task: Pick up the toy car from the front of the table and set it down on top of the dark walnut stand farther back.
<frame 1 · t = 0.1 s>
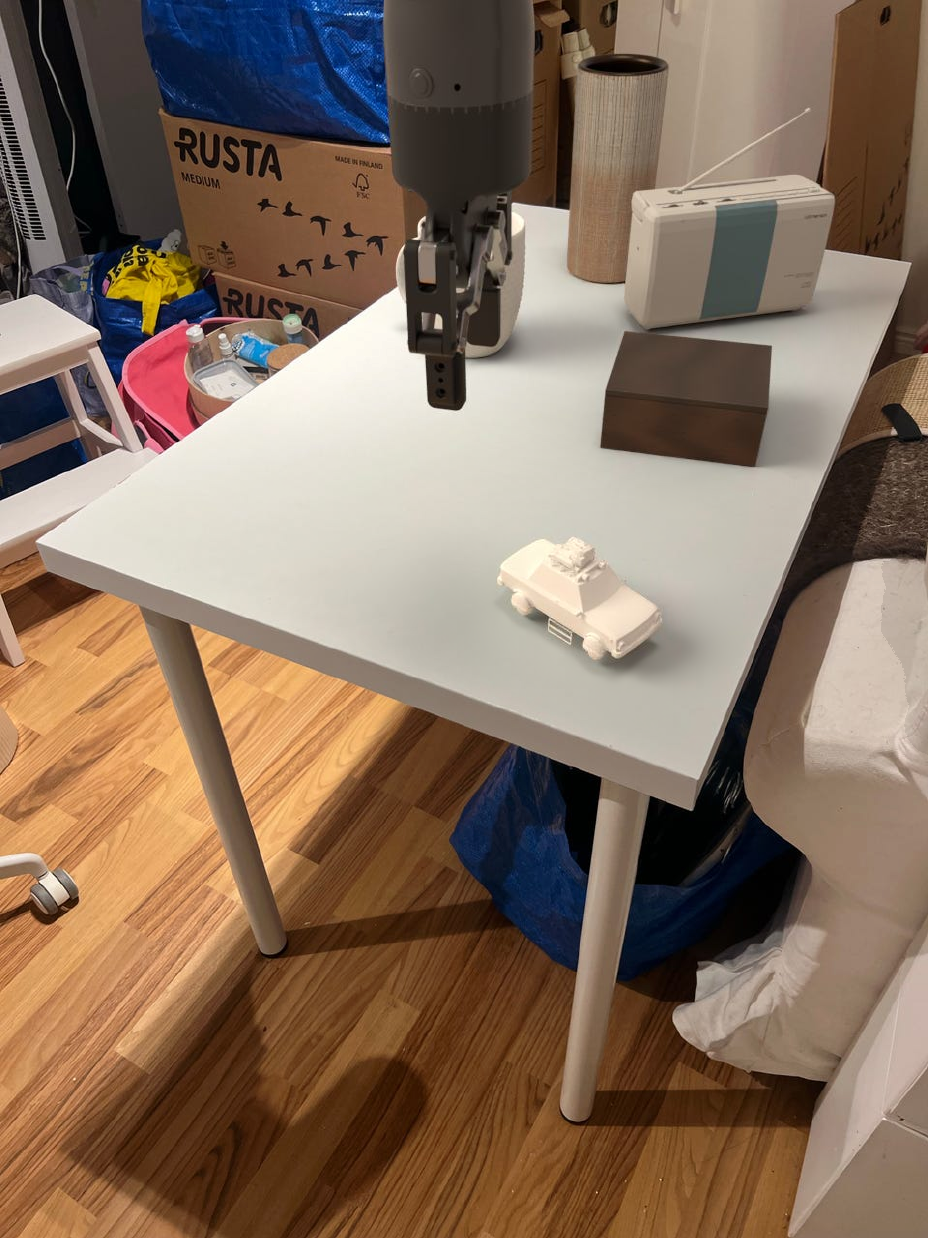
hand: (466, 373, 57), 19 cm above the table, tool pointing down, fingers open, 8 cm apart
stand: (682, 424, 88), on the table
toy car: (575, 622, 68), on the table
planter: (605, 269, 116), on the table
mug: (465, 344, 102), on the table
radio: (712, 313, 106), on the table
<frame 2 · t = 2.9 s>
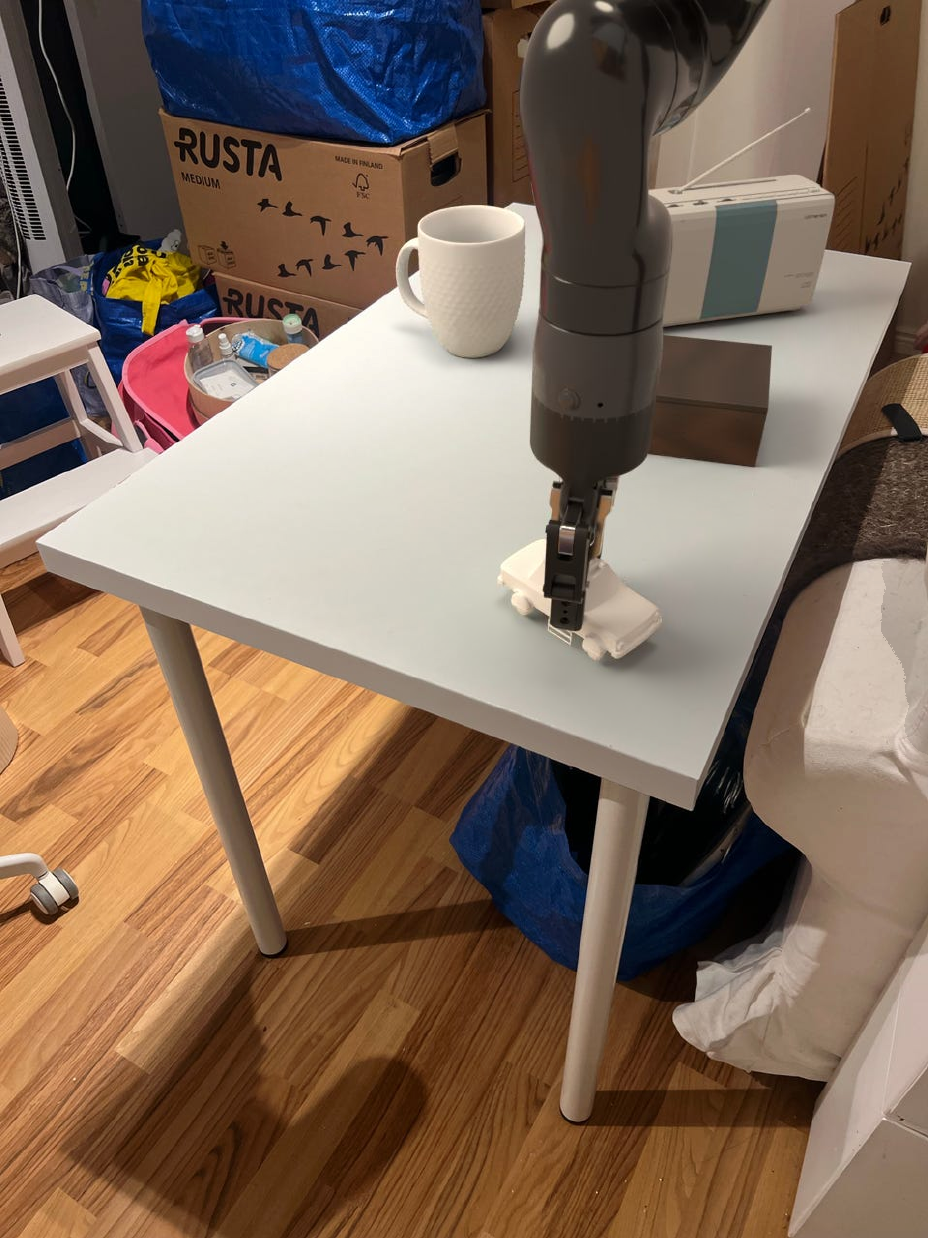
hand: (576, 590, 66), 3 cm above the table, tool pointing down, fingers closed on toy car, 7 cm apart
toy car: (575, 622, 68), on the table, touching gripper
everything else where it was.
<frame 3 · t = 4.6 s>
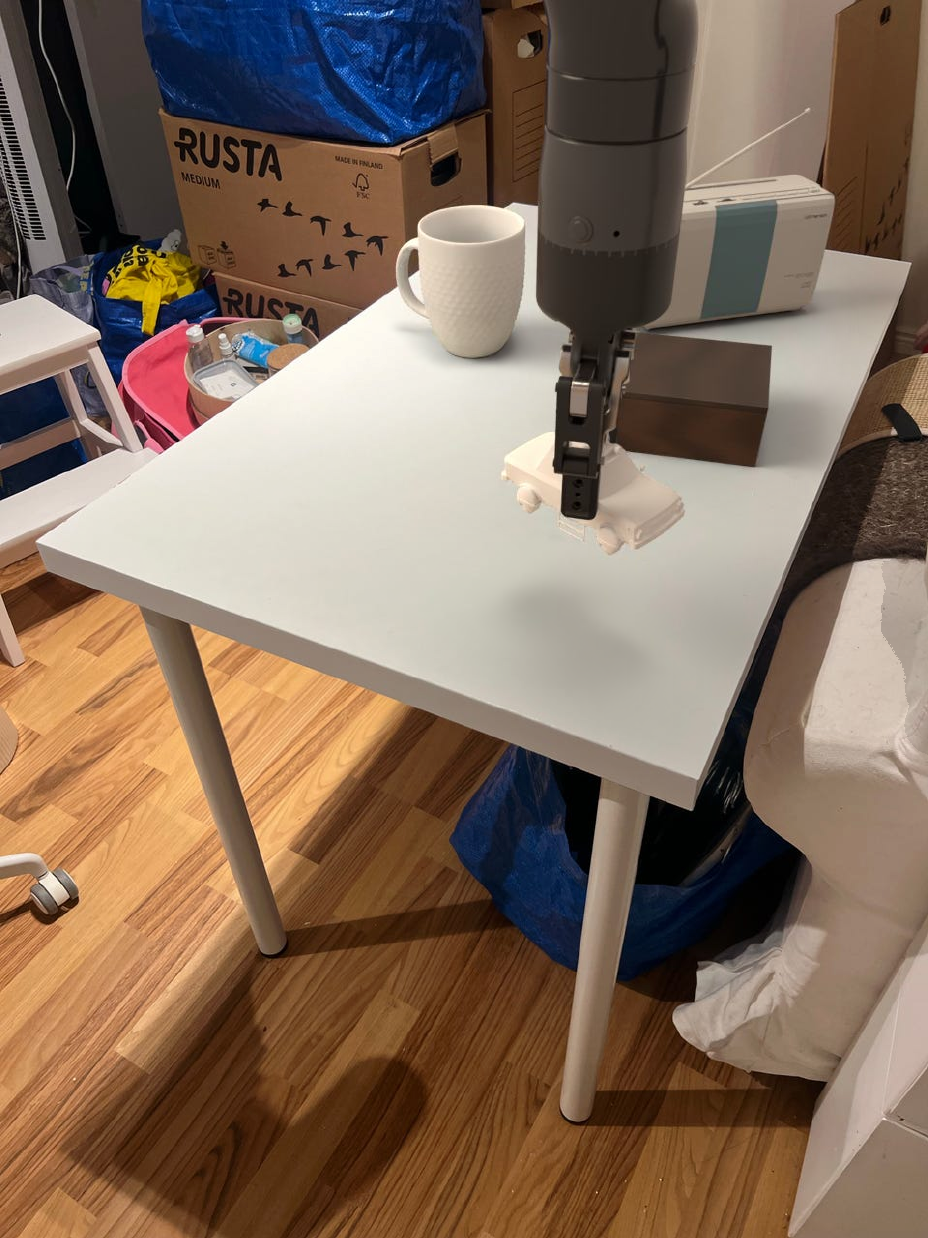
hand: (589, 480, 59), 12 cm above the table, tool pointing down, fingers closed on toy car, 7 cm apart
toy car: (587, 520, 61), point 9 cm above the table, touching gripper
everything else where it was.
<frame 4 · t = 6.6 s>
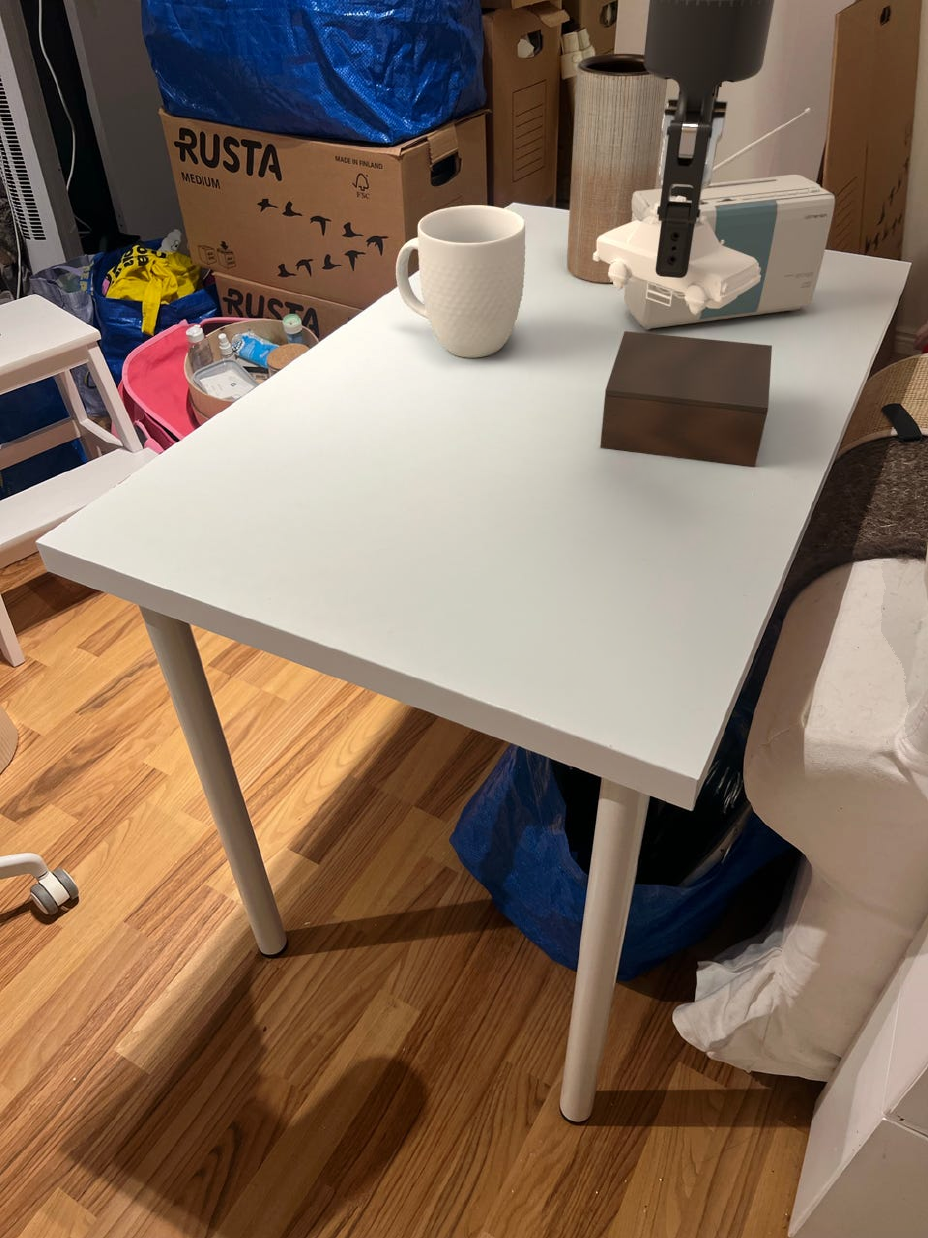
hand: (675, 253, 67), 20 cm above the table, tool pointing down, fingers closed on toy car, 7 cm apart
toy car: (670, 296, 69), point 17 cm above the table, touching gripper
everything else where it was.
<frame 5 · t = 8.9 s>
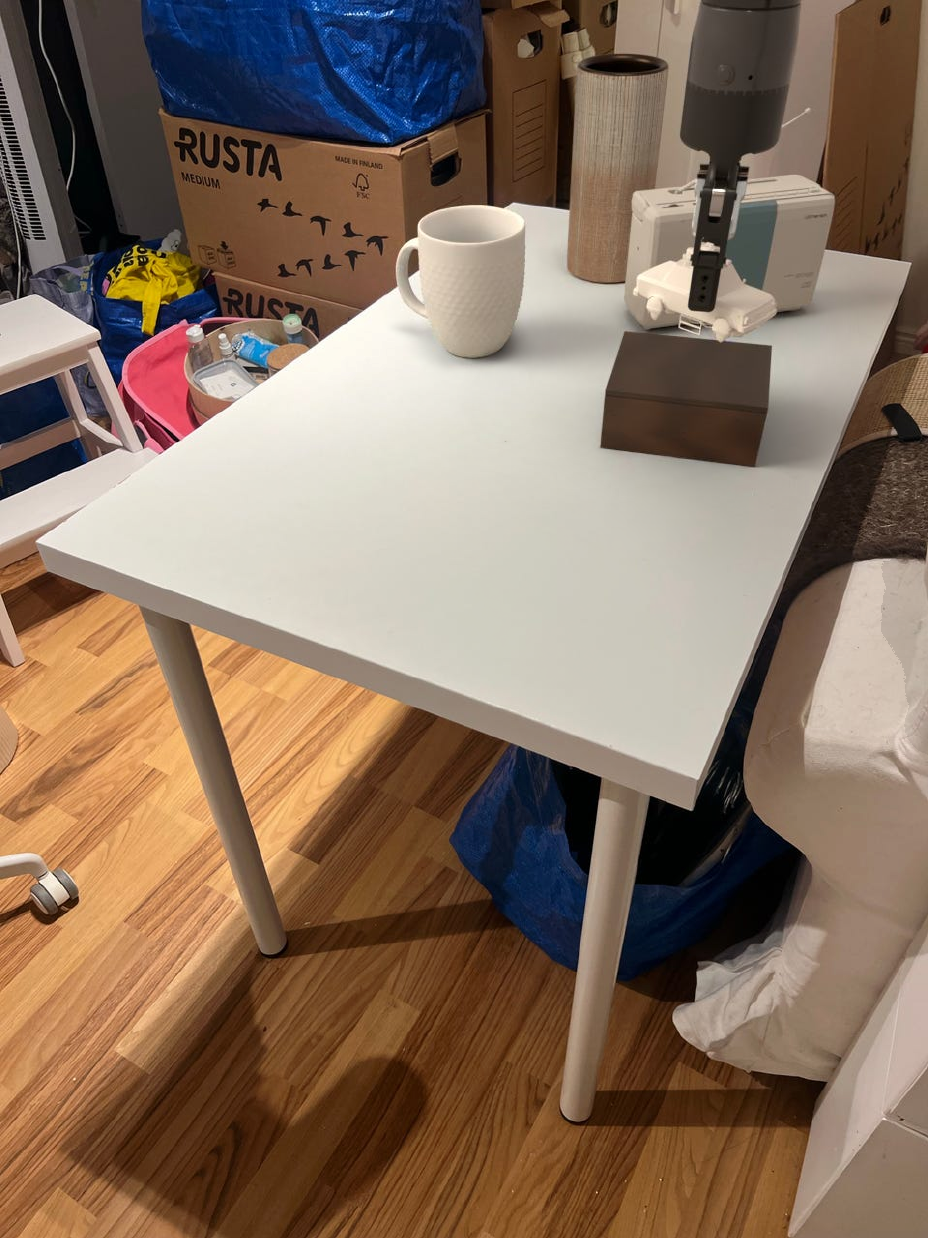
hand: (704, 290, 79), 13 cm above the table, tool pointing down, fingers closed on toy car, 7 cm apart
toy car: (699, 325, 81), point 10 cm above the table, touching gripper
everything else where it was.
when the fingers open (9 cm above the table, at t = 10.6 s): toy car stays where it is, resting on stand.
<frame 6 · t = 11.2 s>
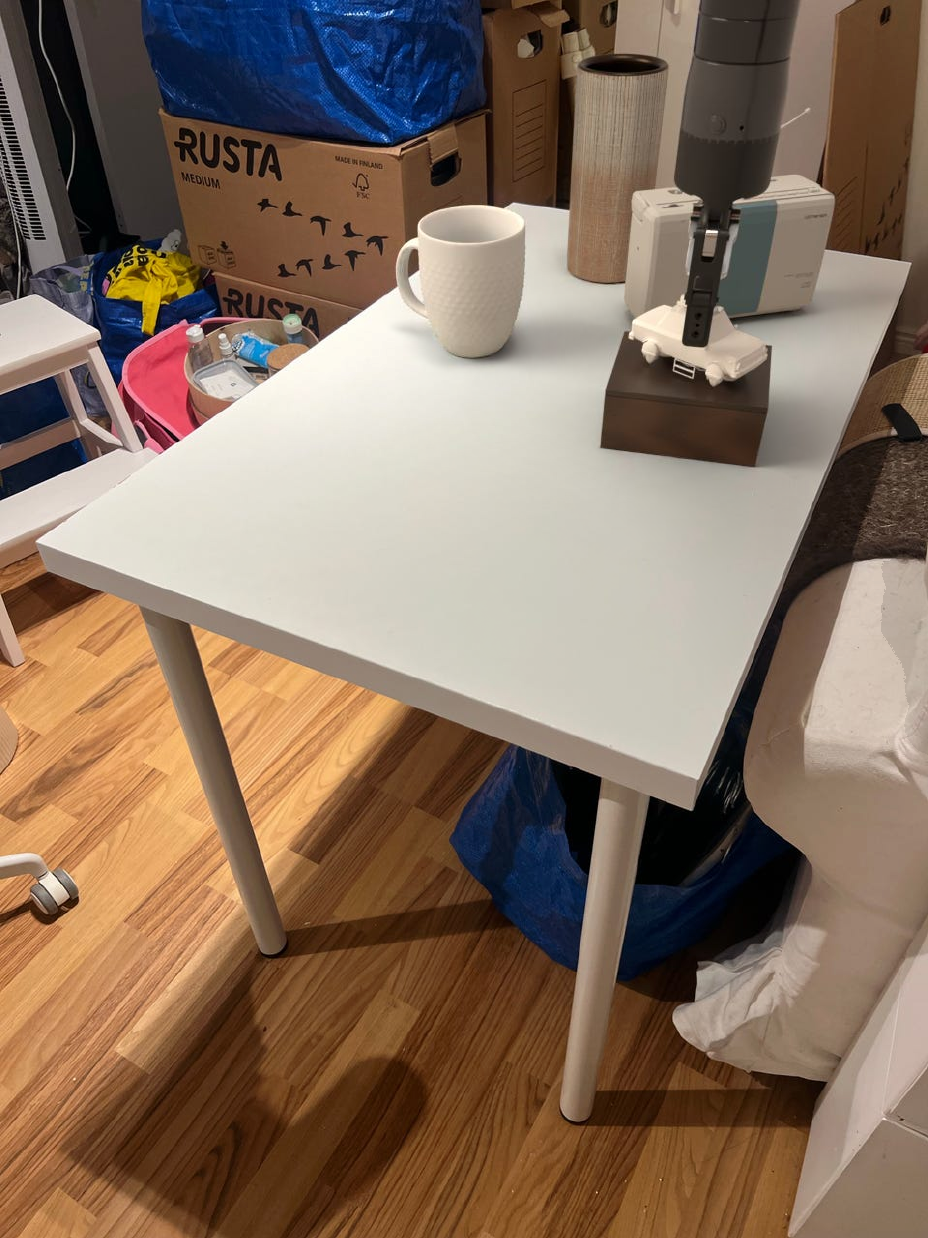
hand: (698, 323, 81), 10 cm above the table, tool pointing down, fingers open, 8 cm apart
toy car: (692, 368, 84), point 6 cm above the table, touching stand
everything else where it was.
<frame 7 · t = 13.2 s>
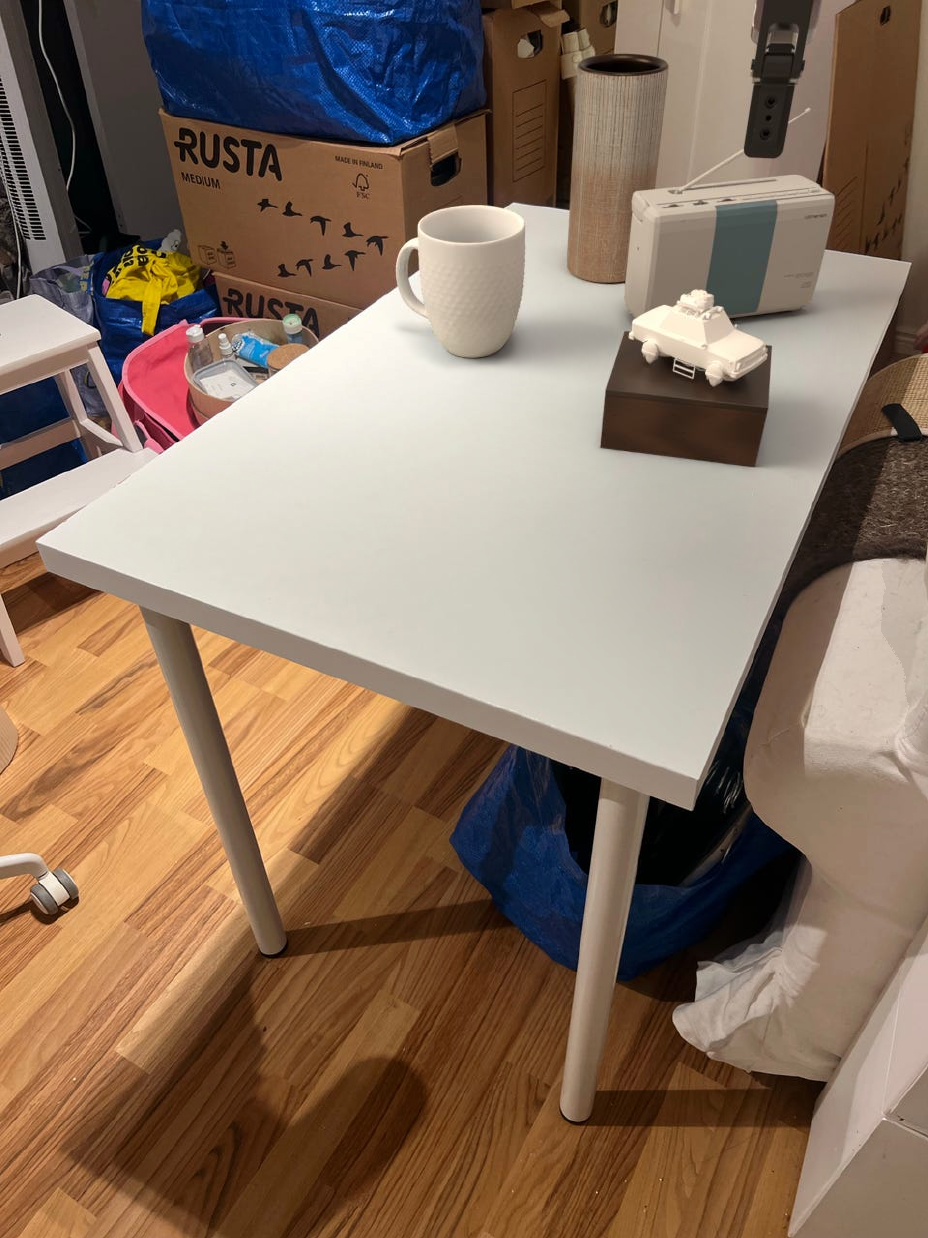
hand: (765, 136, 56), 30 cm above the table, tool pointing down, fingers open, 8 cm apart
nothing on the table moved.
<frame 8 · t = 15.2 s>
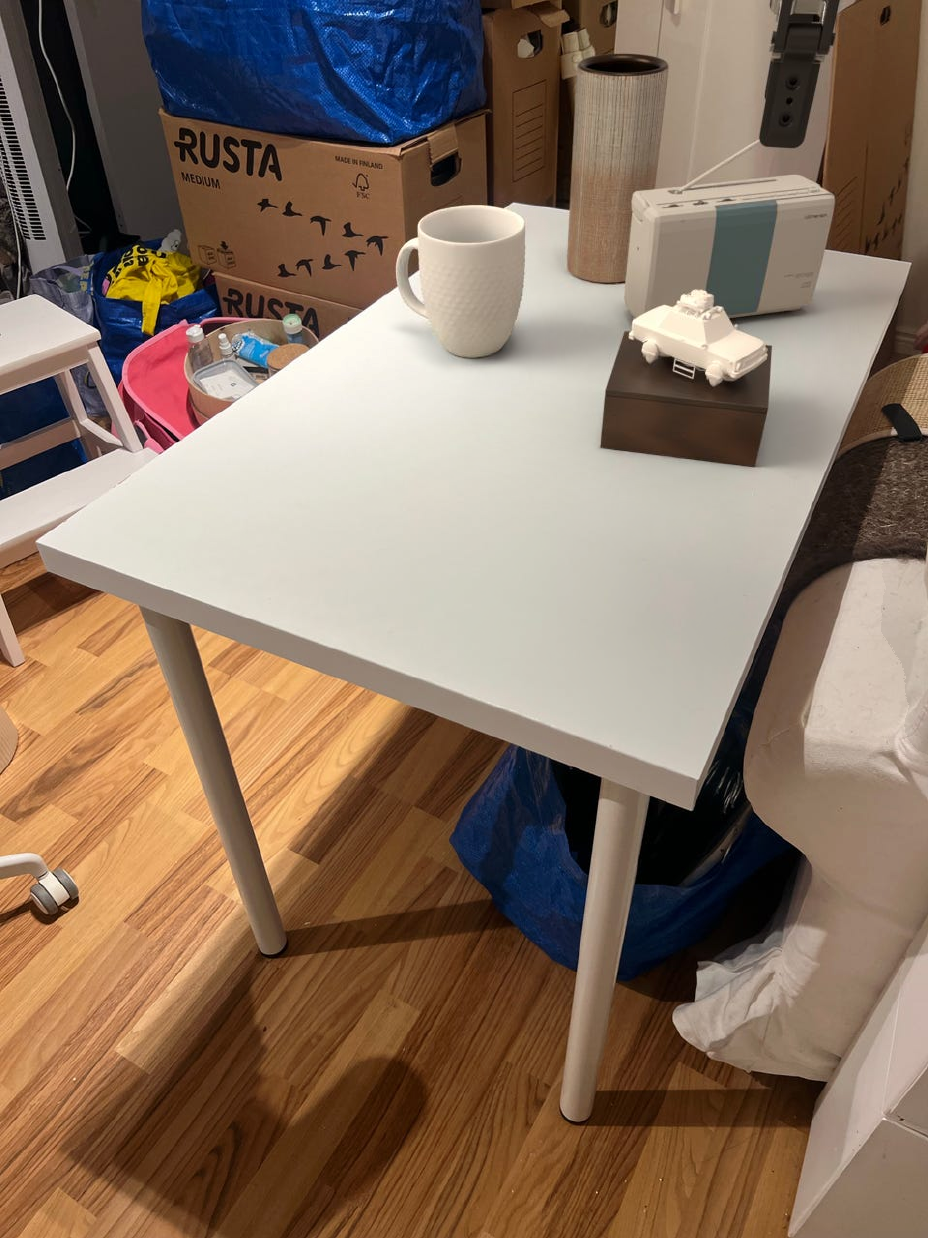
hand: (781, 122, 49), 32 cm above the table, tool pointing down, fingers open, 8 cm apart
nothing on the table moved.
at the end: toy car inside the target area on the stand (0.1 cm from its centre), point 5.8 cm above the stand's base; toy car tilted 0°; the gripper is holding nothing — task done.
